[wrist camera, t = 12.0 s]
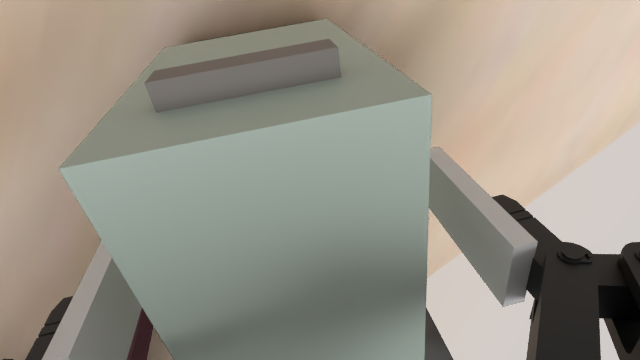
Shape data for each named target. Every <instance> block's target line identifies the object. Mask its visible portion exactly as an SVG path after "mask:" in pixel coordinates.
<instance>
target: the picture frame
mask: <svg viewBox="0 0 640 360" xmlns="http://www.w3.org/2000/svg"><path fill="white" fill-rule="evenodd" d="M152 331H153V324H152V323H151V321H150V319H149V318H148V316H147V315H146V313H145V311H144V310H143V308H141V312H140V315H139V319H138V322H137V326H136V329H135V333H134V336H133V340H132V343H131V346H130V350H129V353H128V357H127V360H147V355H148V350H149V345H150V340H151V335H152Z"/></svg>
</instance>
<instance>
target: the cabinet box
mask: <svg viewBox="0 0 640 360" xmlns="http://www.w3.org/2000/svg"><path fill="white" fill-rule="evenodd" d="M431 103H432V94H431V93H429V92H428V91H426V90H425V89H424V88H422V87H421V86H420V85H418V84H417V83H415V82H414V81H413V80H411V79H410V78H408V77H407V76H406V75H404V74H403V73H402V72H400V71H399V70H397V69H396V68H395V67H393V66H392V65H390V64H389V63H388V62H386V61H385V60H384V59H382V58H381V57H379V56H378V55H377V54H375V53H374V52H373V51H371V50H370V49H368V48H367V47H366V46H364V45H363V44H361V43H360V42H359V41H357V40H356V39H355V38H353V37H352V36H350V35H349V34H348V33H346V32H345V31H343V30H342V29H341V28H339V27H338V26H337V25H335V24H334V23H332V22H331V21H330V20H328V19H322V20H316V21H311V22H305V23H300V24H294V25H289V26H283V27H277V28H272V29H266V30H261V31H255V32H249V33H244V34H238V35H233V36H227V37H221V38H216V39H210V40H205V41H199V42H193V43H188V44H182V45H177V46H171V47H165V48H164V49H163V50H162V51H161V52H160V53H159V54H158V56H157V57H156V58H155V59H154V60H153V61H152V62H151V64H150V65H149V66H148V67H147V68H146V69H145V70H144V72H143V73H142V74H141V75H140V76H139V77H138V78H137V80H136V81H135V82H134V83H133V84H132V85H131V86H130V88H129V89H128V90H127V91H126V92H125V93H124V94H123V96H122V97H121V98H120V99H119V100H118V101H117V102H116V104H115V105H114V106H113V107H112V108H111V109H110V110H109V112H108V113H107V114H106V115H105V116H104V117H103V119H102V120H101V121H100V122H99V123H98V124H97V125H96V127H95V128H94V129H93V130H92V131H91V132H90V133H89V135H88V136H87V137H86V138H85V139H84V140H83V141H82V143H81V144H80V145H79V146H78V147H77V148H76V149H75V151H74V152H73V153H72V154H71V155H70V156H69V157H68V159H67V160H66V161H65V162H64V163H63V164H62V165H61V167H60V168H59V171H60V172H61V174H62V176H63V177H64V179H65V181H66V182H67V184H68V186H69V187H70V189H71V191H72V192H73V194H74V196H75V197H76V199H77V201H78V202H79V204H80V206H81V207H82V209H83V210H84V212H85V214H86V215H87V217H88V219H89V220H90V222H91V224H92V225H93V227H94V229H95V230H96V232H97V234H98V235H99V237H100V239H101V240H102V242H103V244H104V245H105V247H106V248H107V250H108V252H109V253H110V255H111V257H112V258H113V260H114V262H115V263H116V265H117V267H118V268H119V270H120V272H121V273H122V275H123V277H124V278H125V280H126V281H127V283H128V285H129V286H130V288H131V290H132V291H133V293H134V295H135V296H136V298H137V300H138V301H139V303H140V305H141V306H142V308H143V310H144V311H145V313H146V315H147V316H148V318H149V319H150V321H151V323H152V324H153V326H154V328H155V329H156V331H157V333H158V334H159V336H160V338H161V339H162V341H163V343H164V344H165V346H166V348H167V349H168V351H169V353H170V354H171V356H172V357H173V359H174V360H424V357H425V321H426V283H427V248H428V212H429V176H430V140H431Z"/></svg>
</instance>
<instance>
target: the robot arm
mask: <svg viewBox="0 0 640 360" xmlns="http://www.w3.org/2000/svg"><path fill="white" fill-rule="evenodd" d="M429 208H430V210H431V211H432V212H433V214H434V215H435V216H436V218H437V219H438V220H439V222H440V223H441V224H442V226H443V227H444V228H445V230H446V231H447V232H448V234H449V235H450V236H451V238H452V239H453V240H454V242H455V243H456V244H457V246H458V247H459V248H460V250H461V251H462V252H463V254H464V255H465V256H466V258H467V259H468V261H469V262H470V263H471V265H472V266H473V267H474V269H475V270H476V271H477V273H478V274H479V275H480V277H481V278H482V279H483V281H484V282H485V283H486V285H487V286H488V287H489V288H490V290H491V291H492V293H493V294H494V295H495V297H496V298H497V299H498V301H499V302H500V303H501V305H502V306H503V307H504V306H508V305H512V304H516V303H520V302H523V301H524V299H525V295H526V291H527V290H528V291H529V292H530V294H532V296H533V297H534V298H535V300H534V303H533V307H532V311H531V315H530V319H531V326H530V335H529V343H528V351H527V359H526V360H601V356H600V329H599V318H604V321H605V323H606V326H607V328H608V331H609V333H610V336H611V338H612V341H613V344H614V346H615V349H616V351H617V354H618V357H619V359H620V360H640V242H632V243H629V244H627V245H625V246H624V248H623V249H622V251H621V254H619V255H617V254H592V253H591V252H590V251H589V250H587V249H586V248H584V247H582V246H580V245H577V244H574V243H569V242H562V241H560V240H559V239H558V238H557V237H556V236H555V235H554V234H553V233H551V232H550V231H549V230H548V229H547V228H546V227H545V226H544V225H542V224H541V223H540V222H539V221H538V220H537V219H536V218H533V216H532V215H531V214H530V213H529V212H528V211H525V208H523V207H522V206H521V205H520V204H519V203H518V202H517V201H515V200H513V199H511V198H509V197H507V196H505V195H499V196H495V197H491V196H490V195H489V194H488V193H487V192H486V191H485V190H484V189H483V188H481V187H480V186H479V185H478V184H477V183H476V182H475V181H474V180H473V179H472V178H471V177H470V176H469V175H468V174H467V173H466V172H465V171H464V170H463V169H462V168H461V167H460V166H459V165H458V164H457V163H456V162H454V161H453V160H452V159H451V158H450V157H449V156H448V155H447V154H446V153H445V152H444V151H443V150H442V149H441V148H440V147H436V148H431V149H430V176H429ZM141 308H142V306H141V305H140V303H139V301H138V300H137V298H136V296H135V295H134V293H133V291H132V290H131V288H130V286H129V285H128V283H127V281H126V280H125V278H124V277H123V275H122V273H121V272H120V270H119V268H118V267H117V265H116V263H115V262H114V260H113V258H112V257H111V255H110V253H109V252H108V250H107V248H106V247H105V245H104V244H103V242H102V240H101V242H100V244H99V246H98V248H97V250H96V252H95V254H94V256H93V258H92V260H91V262H90V264H89V266H88V268H87V270H86V272H85V274H84V276H83V278H82V280H81V282H80V284H79V286H78V288H77V290H76V292H75V294H74V296H72V297H67V298H64V299H63V300H62V301H61V302H60V303H59V304H58V305H57V306H56V307H55V308H54V309H53V310H52V311H51V313H50V315H49V317H48V319H47V321H46V322H45V324H44V325H45V327H43V328H42V330H41V332H40V334H39V335H38V336H39V338H37V339H36V341H35V343H34V345H33V347H32V348H31V350H30V352H29V354H28V356H27V358H26V359H25V360H127V357H128V353H129V350H130V346H131V343H132V340H133V336H134V333H135V329H136V326H137V322H138V319H139V315H140V312H141ZM3 360H13V359H3Z"/></svg>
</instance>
